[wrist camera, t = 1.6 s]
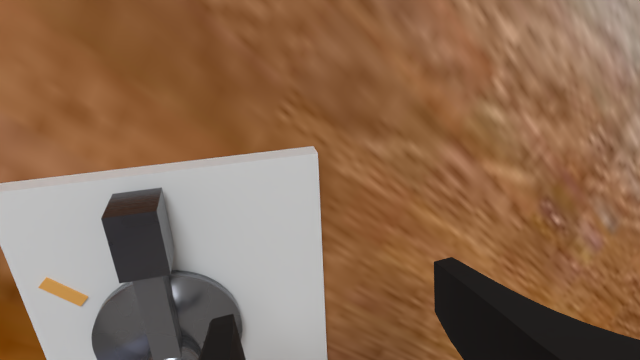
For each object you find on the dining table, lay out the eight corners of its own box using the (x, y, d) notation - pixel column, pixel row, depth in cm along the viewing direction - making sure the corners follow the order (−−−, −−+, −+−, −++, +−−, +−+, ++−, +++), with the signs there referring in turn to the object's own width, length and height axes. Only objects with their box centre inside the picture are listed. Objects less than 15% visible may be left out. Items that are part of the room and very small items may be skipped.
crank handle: (248, 365, 24) (252, 401, 22) (113, 393, 23) (103, 435, 21) (221, 177, 19) (222, 201, 17) (48, 200, 18) (27, 228, 16)
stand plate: (323, 359, 27) (328, 373, 26) (79, 412, 24) (74, 430, 23) (313, 146, 21) (318, 153, 20) (-9, 184, 19) (-22, 195, 18)
